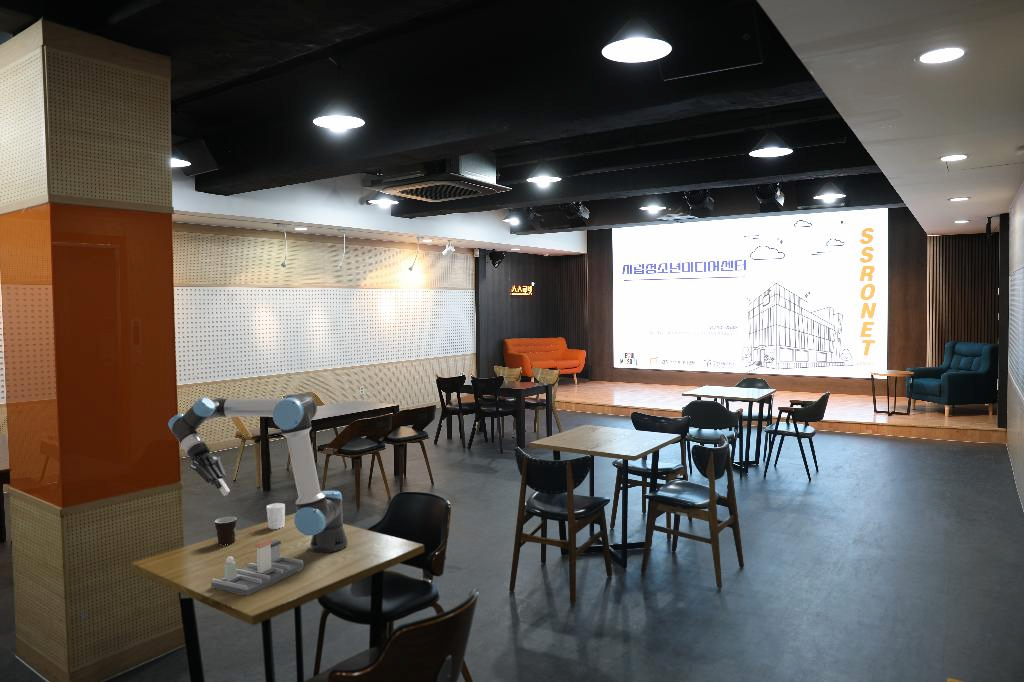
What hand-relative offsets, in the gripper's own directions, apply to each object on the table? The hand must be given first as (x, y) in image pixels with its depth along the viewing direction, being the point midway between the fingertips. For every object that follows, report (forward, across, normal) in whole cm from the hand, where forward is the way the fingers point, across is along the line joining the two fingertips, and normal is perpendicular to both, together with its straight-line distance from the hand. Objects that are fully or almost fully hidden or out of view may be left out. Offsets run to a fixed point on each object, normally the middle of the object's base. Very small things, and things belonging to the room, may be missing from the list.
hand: (227, 493), depth 267 cm
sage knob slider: (+31, +15, -5) cm, 35 cm away
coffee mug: (+4, -19, -36) cm, 41 cm away
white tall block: (+35, +5, -1) cm, 36 cm away
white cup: (+7, -42, -34) cm, 54 cm away
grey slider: (+31, -5, -5) cm, 32 cm away
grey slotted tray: (+35, +5, -5) cm, 35 cm away
